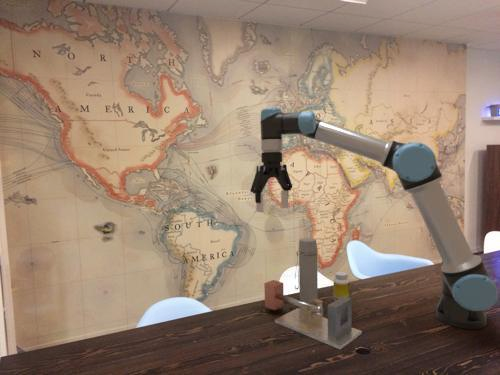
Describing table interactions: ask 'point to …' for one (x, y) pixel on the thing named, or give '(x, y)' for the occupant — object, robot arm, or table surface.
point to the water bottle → (307, 270)
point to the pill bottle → (341, 285)
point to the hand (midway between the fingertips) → (272, 209)
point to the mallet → (283, 297)
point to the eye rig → (324, 322)
